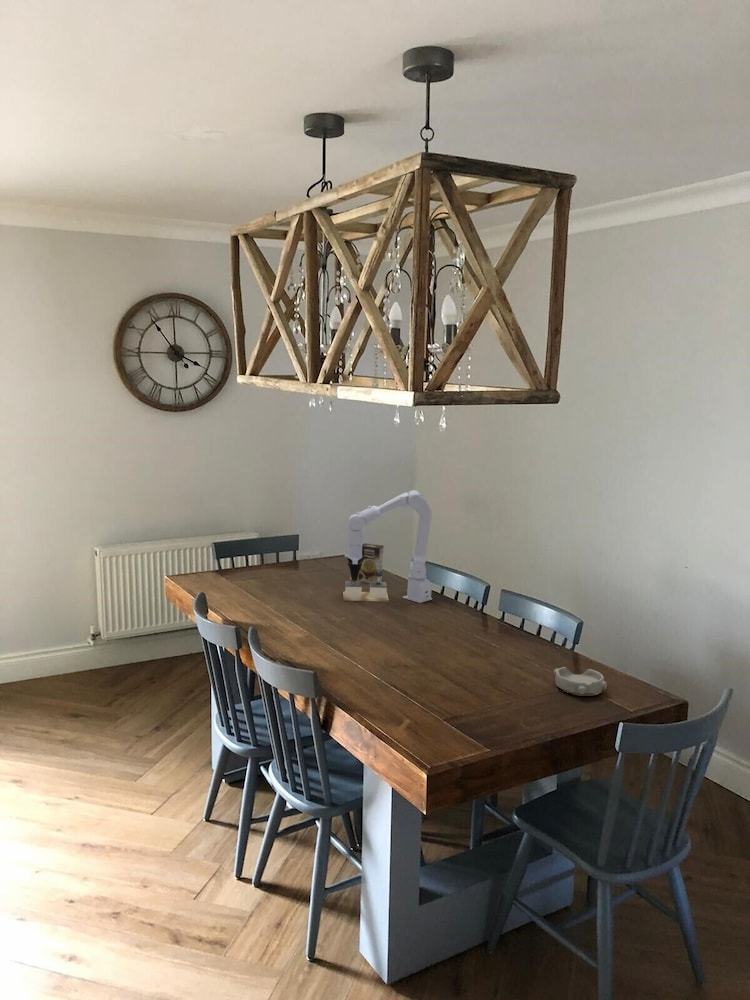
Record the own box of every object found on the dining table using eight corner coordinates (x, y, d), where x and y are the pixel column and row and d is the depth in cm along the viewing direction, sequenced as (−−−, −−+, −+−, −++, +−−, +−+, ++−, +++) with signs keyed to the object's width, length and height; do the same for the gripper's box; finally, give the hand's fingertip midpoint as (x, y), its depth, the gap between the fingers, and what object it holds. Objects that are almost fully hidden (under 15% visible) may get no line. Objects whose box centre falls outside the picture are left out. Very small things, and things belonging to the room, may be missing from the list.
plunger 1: (357, 590, 329) (357, 575, 328) (357, 592, 326) (358, 577, 325) (349, 590, 329) (349, 575, 328) (349, 592, 326) (350, 577, 325)
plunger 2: (382, 585, 329) (382, 570, 328) (382, 587, 326) (383, 572, 325) (374, 585, 329) (374, 570, 328) (374, 587, 326) (375, 572, 325)
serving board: (386, 594, 334) (387, 592, 333) (388, 601, 324) (388, 599, 324) (343, 593, 333) (343, 591, 332) (343, 600, 323) (343, 598, 323)
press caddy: (385, 593, 332) (386, 581, 331) (386, 598, 325) (387, 586, 324) (345, 592, 331) (345, 580, 330) (345, 597, 324) (345, 585, 323)
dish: (547, 682, 247) (548, 666, 246) (588, 679, 250) (590, 664, 249) (569, 701, 233) (570, 685, 232) (612, 698, 236) (614, 682, 235)
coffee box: (358, 582, 351) (359, 545, 348) (362, 578, 357) (363, 542, 354) (378, 584, 348) (379, 547, 346) (382, 580, 354) (383, 544, 352)
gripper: (344, 540, 331) (343, 572, 333) (345, 548, 317) (344, 581, 319) (362, 540, 332) (361, 572, 334) (363, 548, 317) (362, 582, 319)
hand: (354, 577), depth 326 cm, fingers open, 7 cm apart
